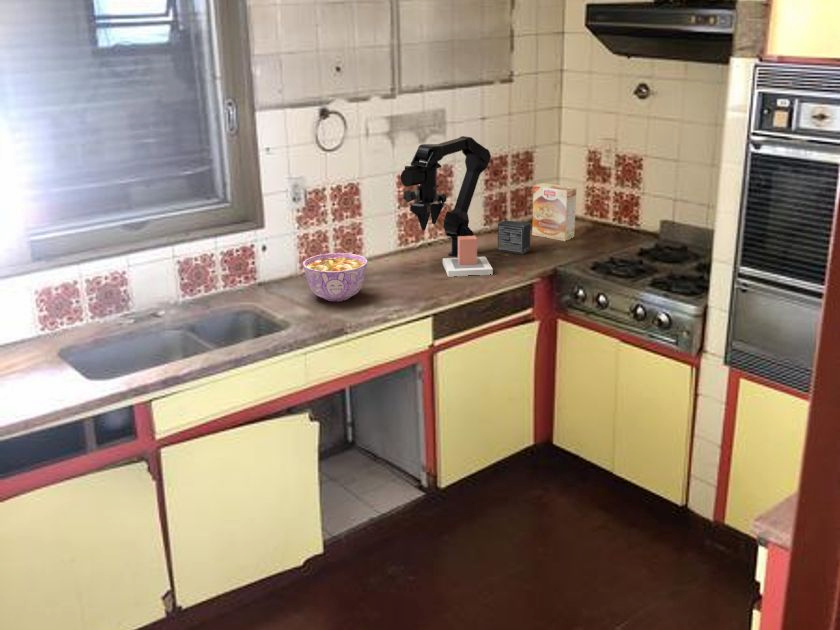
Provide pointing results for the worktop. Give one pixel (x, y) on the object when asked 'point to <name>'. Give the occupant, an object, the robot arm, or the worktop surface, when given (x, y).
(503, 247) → the small box
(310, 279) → the bowl of food
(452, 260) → the base plate
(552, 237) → the coffeecake box
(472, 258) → the slim brick
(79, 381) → the worktop surface
